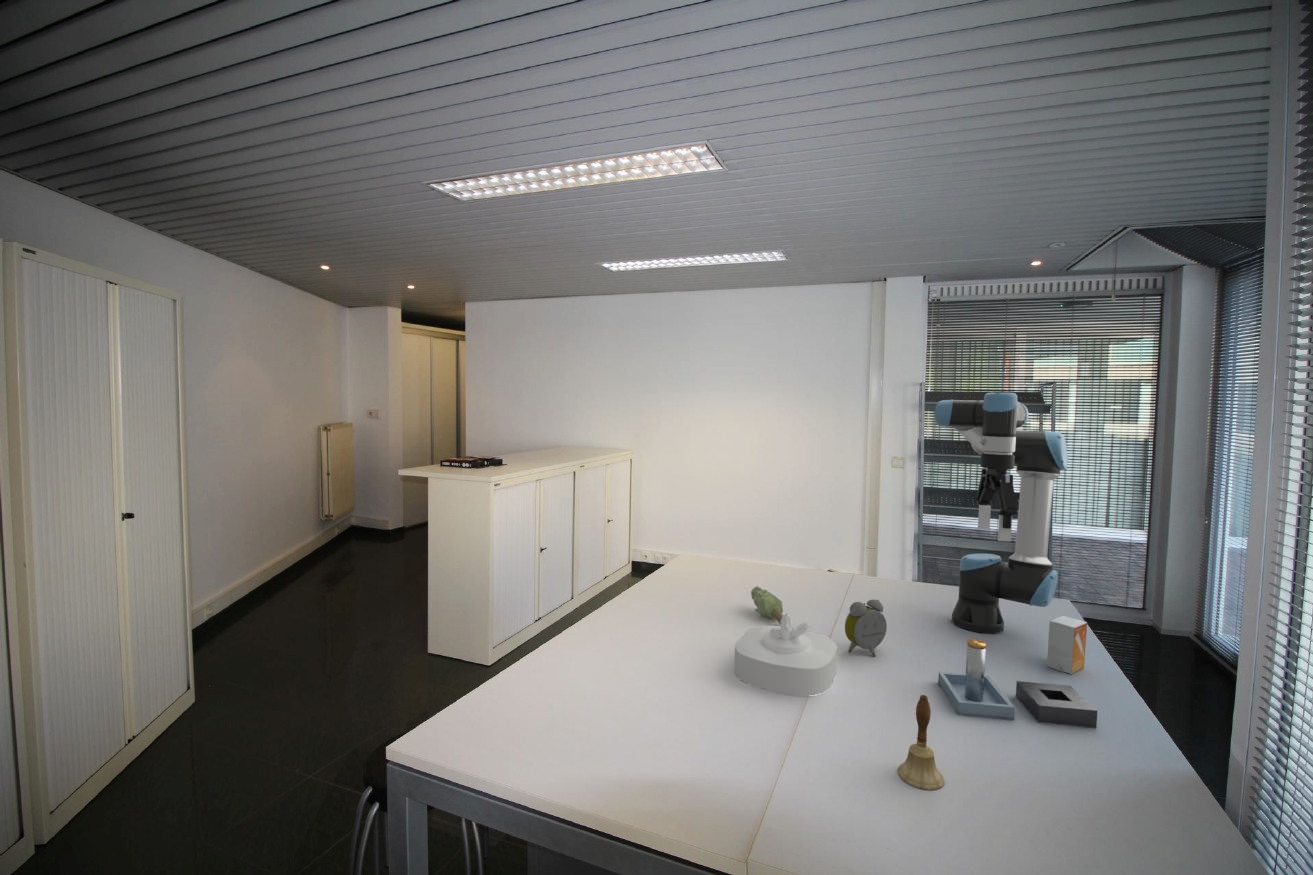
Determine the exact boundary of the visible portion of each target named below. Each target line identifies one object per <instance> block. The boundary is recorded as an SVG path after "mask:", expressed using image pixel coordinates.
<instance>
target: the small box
mask: <svg viewBox="0 0 1313 875" xmlns="http://www.w3.org/2000/svg"><path fill="white" fill-rule="evenodd" d="M1048 626H1049V627H1048V640H1047V641H1048V644H1047V657H1046V658H1047V660H1046V666H1047V667H1050V668H1052V669H1055V670H1057V671H1060V672H1063V673H1066V674H1068V675H1073V674H1075V673H1076V672H1078V671H1080V670H1082V669H1084V668H1085V660H1086V659H1085V658H1086V647H1087V646H1086V645H1087V632H1088V622H1087V621H1084V620H1080V619H1076V618H1073V617H1069V616H1065V615H1060V616H1058V617H1055V618H1053V619H1052V620H1049V625H1048Z"/></svg>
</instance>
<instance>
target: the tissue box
mask: <svg viewBox="0 0 1313 875" xmlns="http://www.w3.org/2000/svg"><path fill="white" fill-rule="evenodd" d="M782 615H783V614H782ZM793 620H794V619H793V618H792V616H791V615H790V614H789V613H785V614H784V615H783V617H782V619H781V621H780V623H781V625H780V624H779V625H763V626H754V627H750V628H749V629H746V631H745V632H744V634H743V635H742V636H741V637H740V638H738V640H737V641H736V642H735V644H734V667H733V668H734V671H735V672H734V675H735V674H736V675H735V677H736V676H737V677H738V678H739V679H740V680H739V679H738V678H737V677H736V678H737V679H738V680H739V681H741V680H742V681H743V682H742V681H741V682H742V683H744V682H745V683H744V684H746V683H747V684H746V685H748V684H750V685H749V686H751V687H754V686H756V687H755V688H757V687H759V688H758V689H762V688H764V689H763V690H766V689H767V691H771V692H774V691H775V693H779V694H782V693H783V695H787V696H791V695H792V696H793V697H800V698H801V697H802V698H808V696H809V695H815V694H819V693H823V692H824V691H826V690H827V689H828V688H829V687H830V685H831V683H832V681H833V682H834V680H835V678H836V676H837V661H838V660H837V659H838V658H837V657H838V656H837V655H838V645H837V643H836V642H835V641H833V639H831V638H829V637H827V636H825V635H823V634H820V633H817V632H813V631H812V632H811V631H808V630H809V629H810V626H809V624H808V623H807V622H805V623H802V624H798V625H797V626H795V627H794V621H793ZM792 628H793V629H792ZM835 675H836V676H835ZM834 677H835V678H834ZM833 679H834V680H833ZM832 684H833V683H832ZM831 686H832V685H831ZM830 688H831V687H830Z"/></svg>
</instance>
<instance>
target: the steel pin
mask: <svg viewBox="0 0 1313 875" xmlns="http://www.w3.org/2000/svg"><path fill="white" fill-rule="evenodd" d="M986 651H987V643H986V641H984V640H982V639H979V638H968V639H967V645H966V660H965V661H966V666H965V674H966V680H965V697H966V698H967V699H968V700H971V701H974V702H982V701H983V694H984V676H986V675H985V673H986V672H985V671H986Z"/></svg>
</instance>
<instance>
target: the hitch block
mask: <svg viewBox="0 0 1313 875" xmlns="http://www.w3.org/2000/svg"><path fill="white" fill-rule="evenodd" d="M1015 698H1016V699H1017V701H1019V702H1020V704H1021V705H1022V706H1023V707H1024V708H1025V709H1026V710H1027V711H1028V712H1029V713H1030V715H1031V716H1032V717H1033V718H1034V720H1035V721H1036V722H1037V723H1041V724H1051V725H1061V726H1063V725H1064V726H1072V727H1073V726H1074V727H1083V728H1093V729H1095V728H1097V724H1098V709H1096V708H1095V707H1094V706H1093V705H1092V704H1091V703H1090V702H1089V701H1087V700H1086V699H1085V698H1084V697H1083V696H1082V695H1081V694H1080V693H1079V692H1077V690H1075V689H1074V688H1073V687H1072V686H1071V685H1066V684H1054V683H1042V682H1034V681H1033V682H1032V681H1020V680H1016V687H1015Z"/></svg>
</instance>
